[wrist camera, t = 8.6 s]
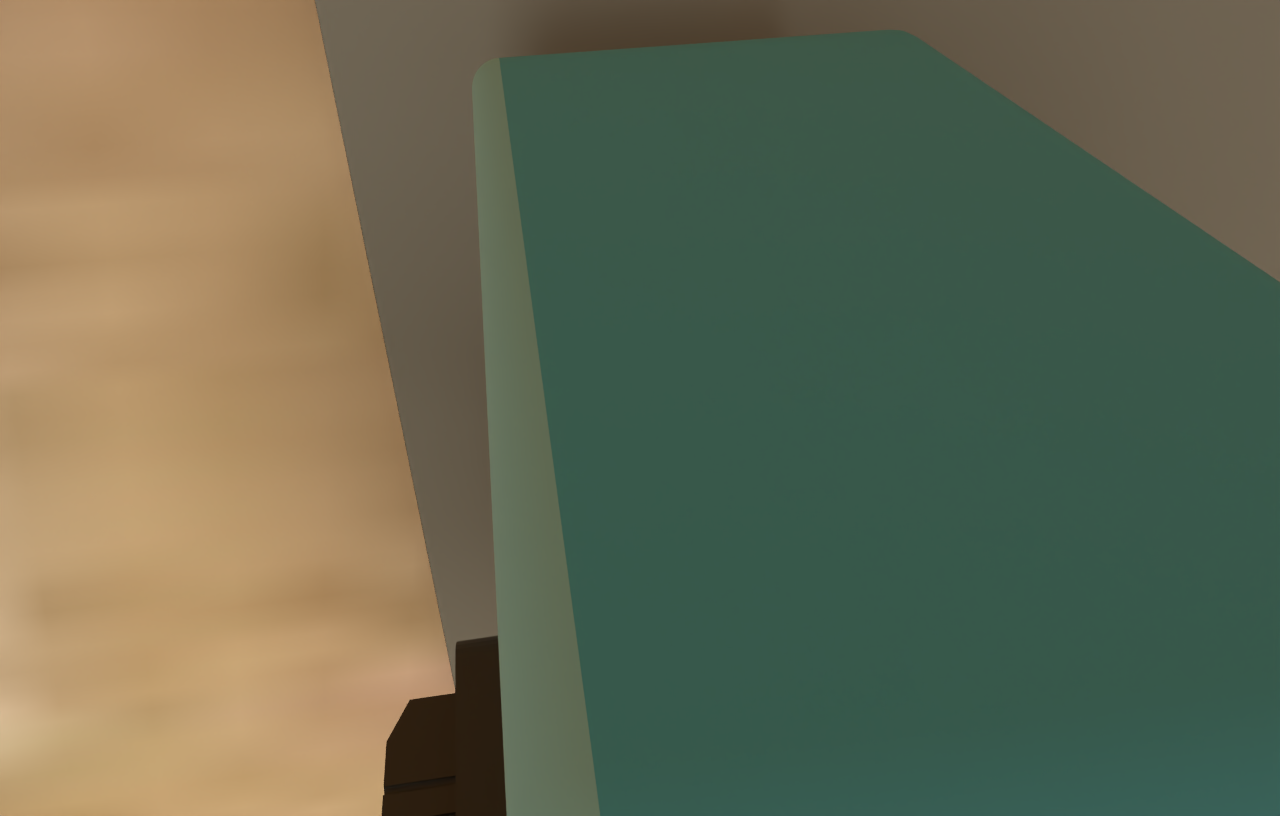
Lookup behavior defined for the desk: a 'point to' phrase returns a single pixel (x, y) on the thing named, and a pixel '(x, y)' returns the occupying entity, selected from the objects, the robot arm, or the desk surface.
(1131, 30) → the mat
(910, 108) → the data package
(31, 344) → the desk surface
